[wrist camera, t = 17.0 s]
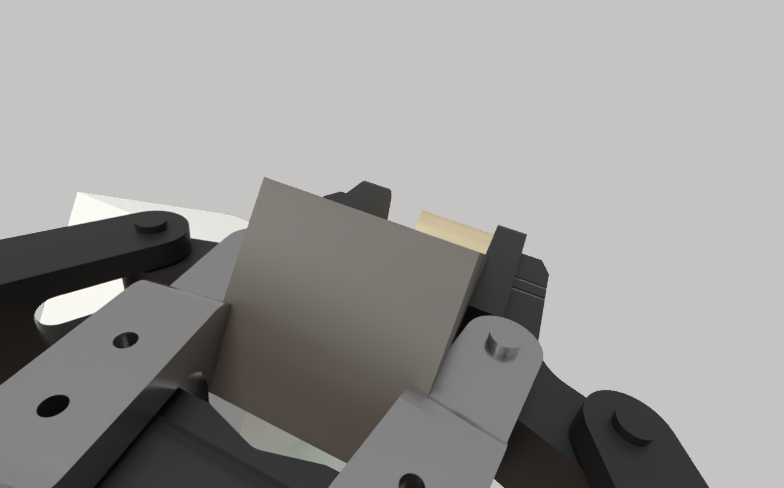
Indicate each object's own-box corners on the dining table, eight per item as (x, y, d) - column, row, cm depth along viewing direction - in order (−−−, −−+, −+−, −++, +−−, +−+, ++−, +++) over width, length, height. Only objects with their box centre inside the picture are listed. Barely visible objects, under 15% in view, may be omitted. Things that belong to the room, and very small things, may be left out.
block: (474, 529, 5) (599, 196, 5) (139, 355, 6) (226, 87, 6) (495, 315, 23) (520, 247, 23) (411, 283, 24) (434, 218, 24)
